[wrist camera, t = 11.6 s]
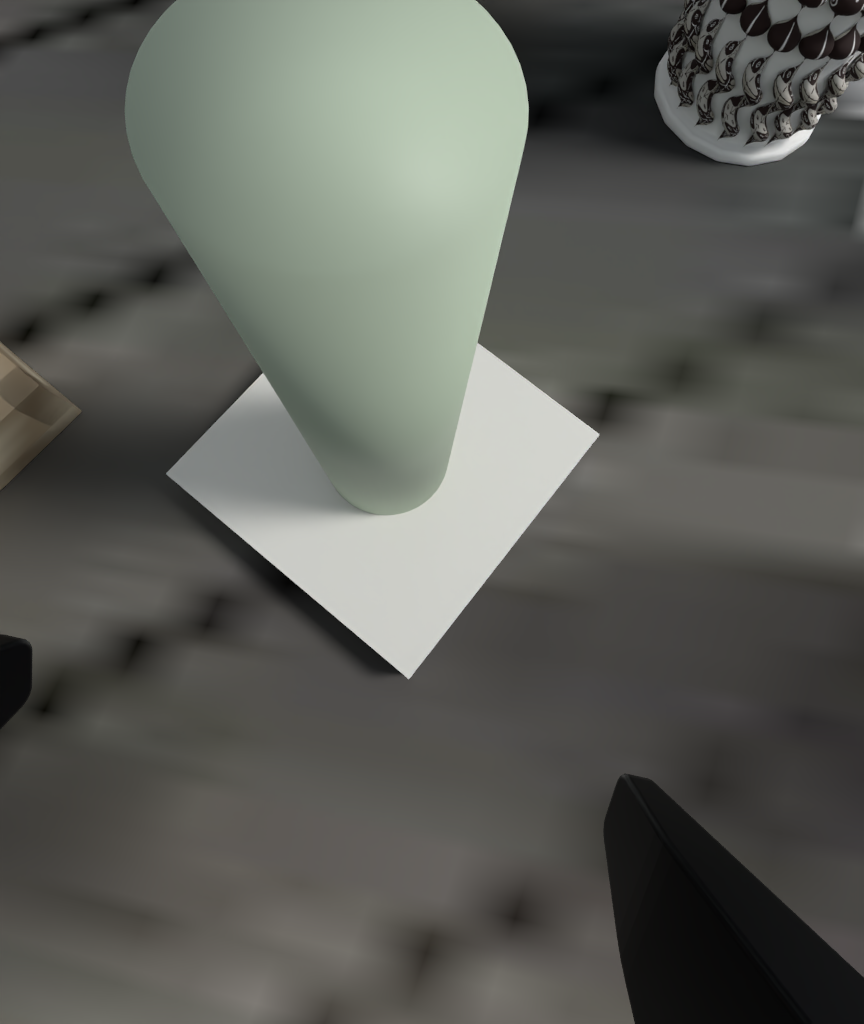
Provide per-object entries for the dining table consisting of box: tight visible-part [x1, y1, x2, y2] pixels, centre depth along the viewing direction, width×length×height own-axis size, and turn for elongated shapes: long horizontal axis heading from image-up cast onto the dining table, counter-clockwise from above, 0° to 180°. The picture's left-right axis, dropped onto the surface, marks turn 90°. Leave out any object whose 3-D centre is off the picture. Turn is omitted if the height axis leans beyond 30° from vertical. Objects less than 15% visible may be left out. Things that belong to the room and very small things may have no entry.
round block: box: [125, 0, 529, 515], centre depth 13 cm, size 5×5×14 cm
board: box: [166, 343, 600, 679], centre depth 21 cm, size 12×12×2 cm
